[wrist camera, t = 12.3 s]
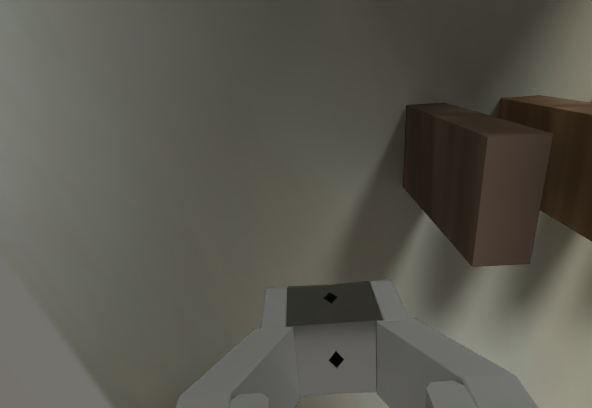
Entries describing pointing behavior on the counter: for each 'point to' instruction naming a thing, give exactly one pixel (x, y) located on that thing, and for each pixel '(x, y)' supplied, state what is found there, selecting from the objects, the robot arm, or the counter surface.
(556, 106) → the tile
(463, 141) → the tile
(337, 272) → the counter surface
